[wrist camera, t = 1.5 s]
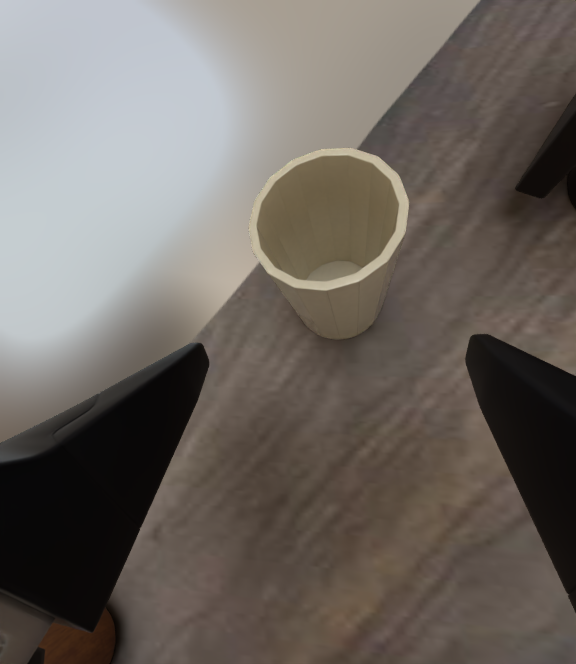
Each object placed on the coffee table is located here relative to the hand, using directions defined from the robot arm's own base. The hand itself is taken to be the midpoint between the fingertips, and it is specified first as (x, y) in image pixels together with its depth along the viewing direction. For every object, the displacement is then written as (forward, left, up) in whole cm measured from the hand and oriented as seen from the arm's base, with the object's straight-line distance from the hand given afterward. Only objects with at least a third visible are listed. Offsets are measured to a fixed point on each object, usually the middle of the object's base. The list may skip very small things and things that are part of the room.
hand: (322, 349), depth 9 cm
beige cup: (+6, +1, -12) cm, 14 cm away
